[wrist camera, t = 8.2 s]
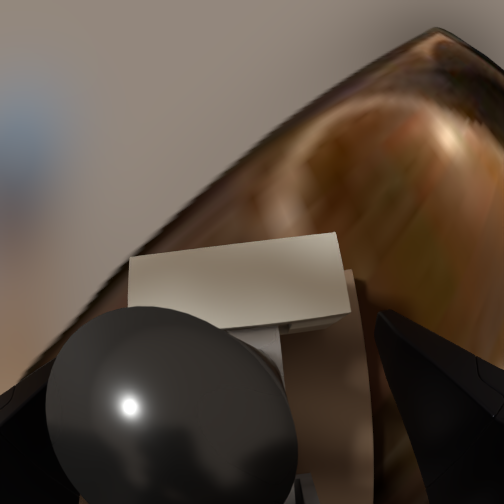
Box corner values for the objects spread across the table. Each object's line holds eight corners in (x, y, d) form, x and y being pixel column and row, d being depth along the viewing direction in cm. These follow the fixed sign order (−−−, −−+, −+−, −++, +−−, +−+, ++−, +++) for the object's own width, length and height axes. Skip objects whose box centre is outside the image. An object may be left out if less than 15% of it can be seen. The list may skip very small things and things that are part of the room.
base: (363, 557, 8) (387, 607, 2) (190, 568, 9) (162, 616, 3) (347, 275, 16) (383, 227, 10) (150, 297, 17) (90, 262, 11)
